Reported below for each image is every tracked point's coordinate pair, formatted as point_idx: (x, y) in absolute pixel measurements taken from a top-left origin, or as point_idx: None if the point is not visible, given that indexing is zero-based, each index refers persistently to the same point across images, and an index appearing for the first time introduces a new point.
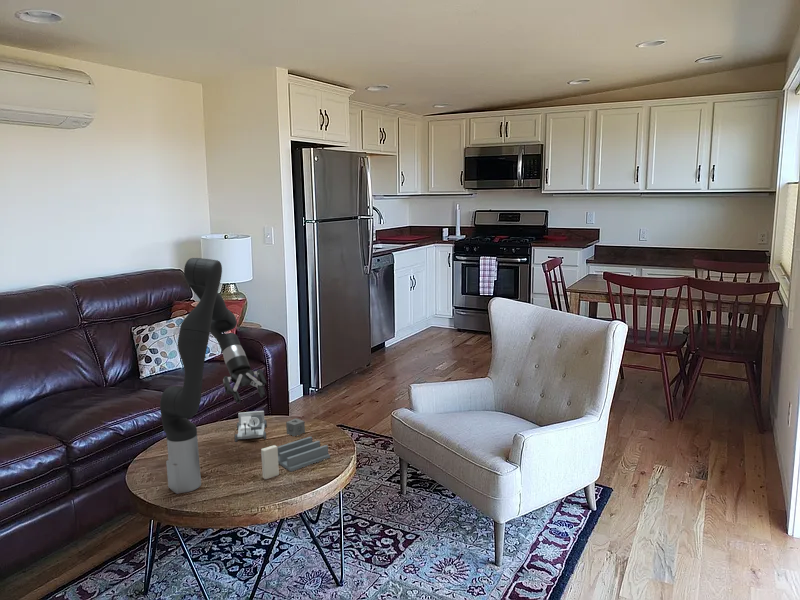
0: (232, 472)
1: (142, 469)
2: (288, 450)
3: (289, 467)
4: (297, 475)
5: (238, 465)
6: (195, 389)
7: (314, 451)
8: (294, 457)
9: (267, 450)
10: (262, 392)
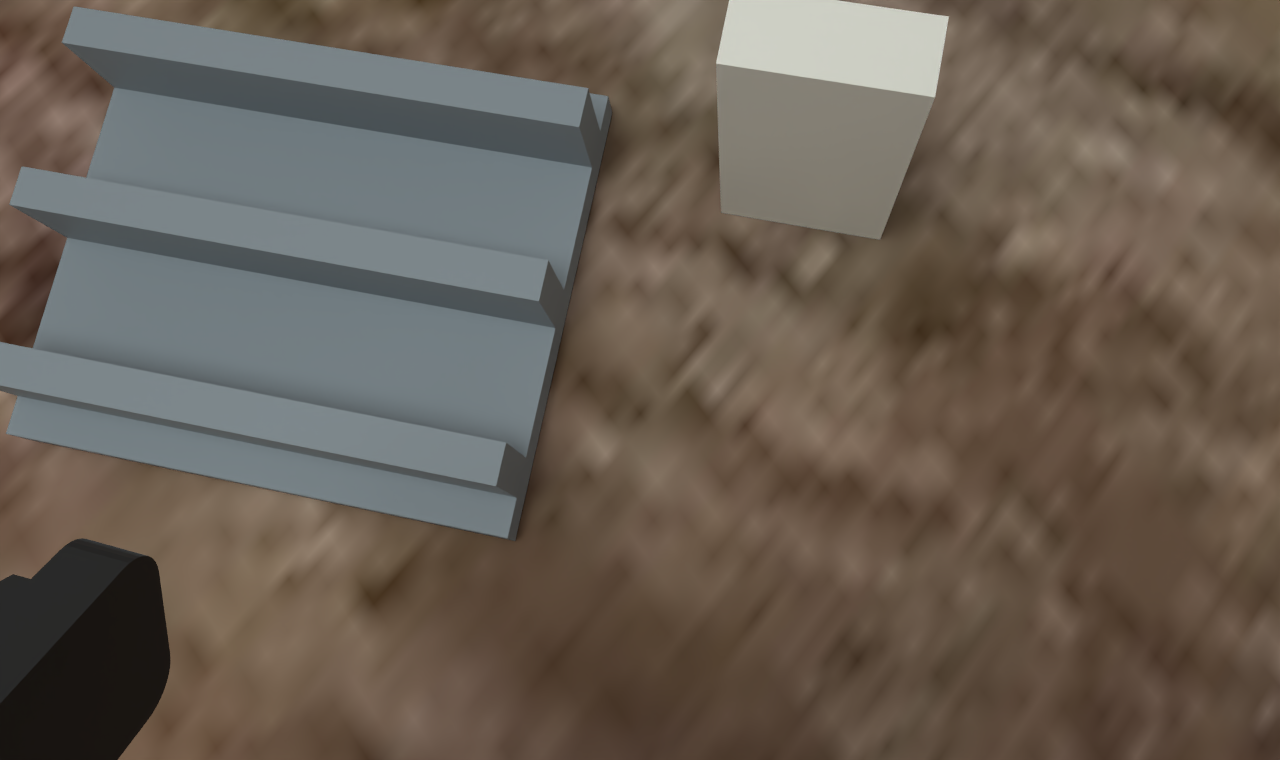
0: (1028, 610)
1: None
2: (419, 268)
3: (600, 121)
4: (628, 3)
5: (870, 709)
6: None
7: (254, 41)
8: (510, 78)
9: (890, 12)
10: (46, 601)
